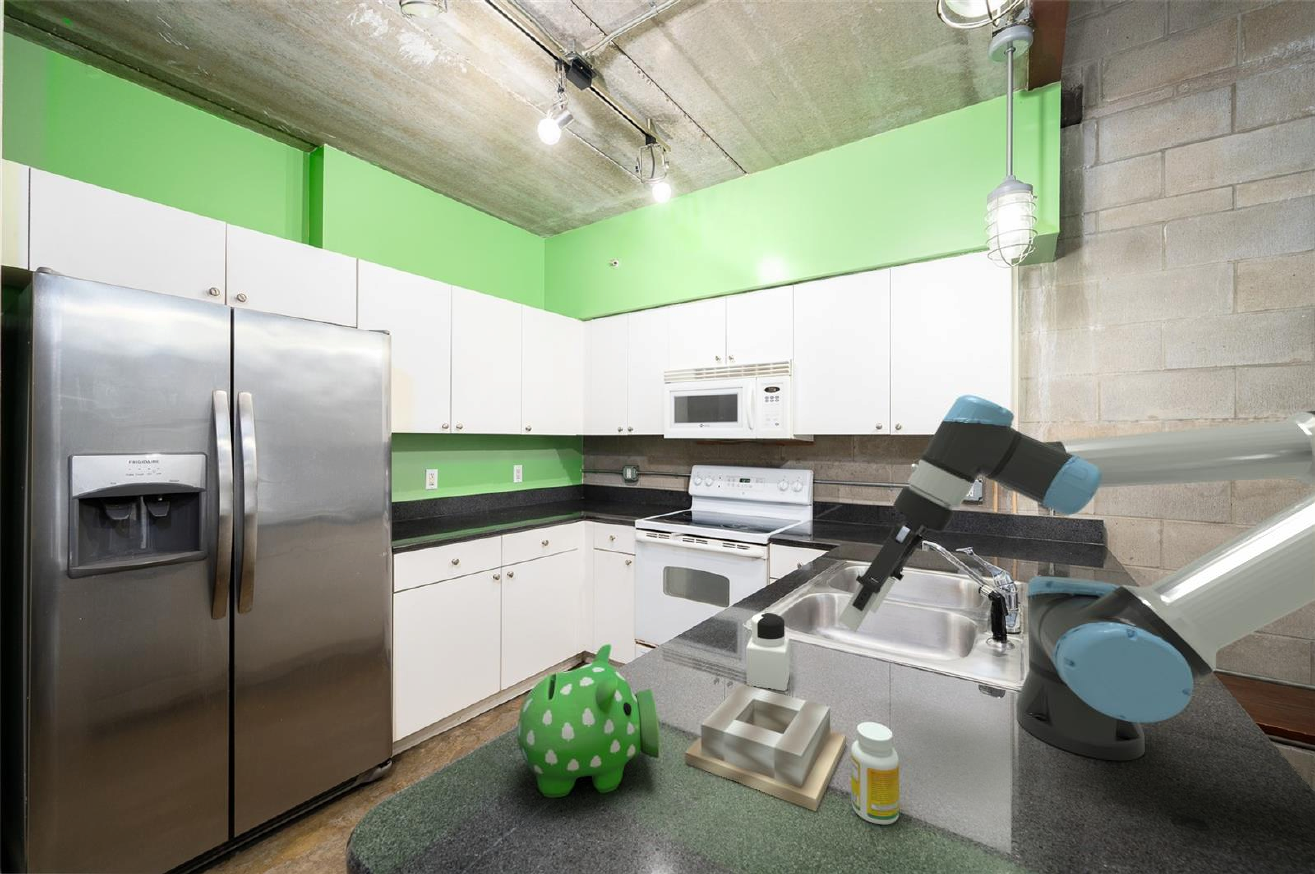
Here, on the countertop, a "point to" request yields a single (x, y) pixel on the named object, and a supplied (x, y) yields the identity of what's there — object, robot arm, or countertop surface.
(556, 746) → the piggy bank
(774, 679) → the medicine bottle
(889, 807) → the supplement bottle
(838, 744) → the block
